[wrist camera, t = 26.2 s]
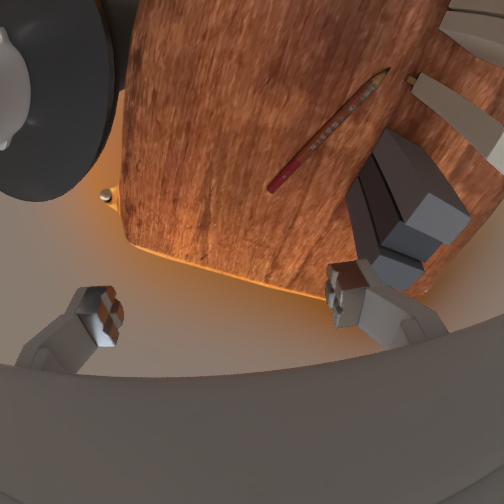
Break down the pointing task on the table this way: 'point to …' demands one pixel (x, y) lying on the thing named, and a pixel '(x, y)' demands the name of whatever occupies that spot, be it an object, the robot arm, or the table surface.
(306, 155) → the pencil
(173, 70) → the table surface
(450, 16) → the white books
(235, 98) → the table surface
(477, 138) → the white book
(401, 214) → the grey books
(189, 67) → the table surface
